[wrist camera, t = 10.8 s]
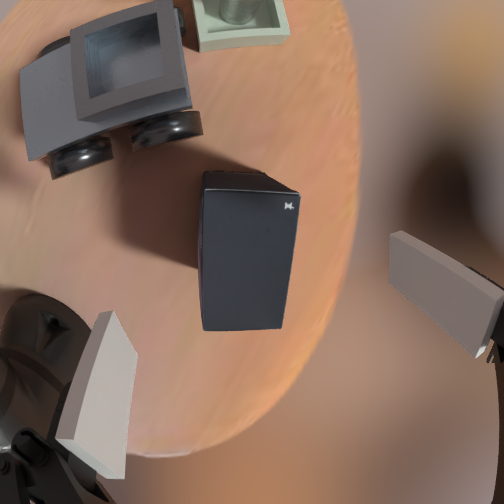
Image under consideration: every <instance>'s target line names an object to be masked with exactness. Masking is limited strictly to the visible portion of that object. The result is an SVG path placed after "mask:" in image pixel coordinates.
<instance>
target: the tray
mask: <svg viewBox="0 0 504 504" xmlns="http://www.w3.org/2000/svg"><path fill="white" fill-rule="evenodd" d="M191 2H192V8H193V15H194V21H195V27H196V34H197V40H198V46H199V52H207V51H213V50H220V49H228V48H237V47H247V46H261V45H281V44H282V43H283V42H284V41H285V40H286V39H287V38H288V37H289V36H290V35H291V34H290V30H289V25H288V21H287V17H286V13H285V9H284V5H283V1H282V0H263V2H262V4H261V6H260V8H259V10H258V12H257V14H256V16H255V18H254V19H253V20H252V21H251V22H250V23H248V24H245V25H232V24H229V23H226V22H225V21H223V20H222V19H221V17H220V15H219V5H220V0H191Z"/></svg>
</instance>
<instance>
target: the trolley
mask: <svg viewBox="0 0 504 504" xmlns="http://www.w3.org/2000/svg"><path fill="white" fill-rule="evenodd" d="M185 33H186V27H185V20H184V13H183V11H182V10H181V9H180V8H178V7H176V6H173V0H157V1H153V2H149V3H145V4H141V5H138V6H134V7H131V8H128V9H124V10H121V11H118V12H115V13H112V14H109V15H107V16H104V17H101V18H98V19H96V20H93V21H91V22H88V23H86V24H84V25H81V26H79V27H77V28H74V29H72V30H70V36H68V37H64V38H61V39H59V40H57V41H54V42H53V43H51V44H49V45H48V46H46V47H45V48H44V49H43V50H42V51H41V52H40V53H39V55H38V58H37V60H36V61H34V62H32V63H31V64H29V65H27V66H26V67H24V68H22V69H21V70H20V96H21V109H22V120H23V128H24V136H25V143H26V149H27V155H28V160H29V161H34V160H39V159H41V158H43V157H45V156H48V155H50V154H52V153H54V152H56V151H58V152H56V153H54V154H52V155H50V156H49V157H48V163H49V168H50V172H51V177H52V180H55V179H58V178H61V177H64V176H67V175H69V174H72V173H75V172H78V171H81V170H83V169H86V168H89V167H92V166H95V165H98V164H101V163H103V162H106V161H109V160H112V159H114V156H113V152H112V147H111V142H110V137H99V138H95V139H91V140H87V141H84V140H86V139H88V138H91V137H94V136H96V135H99V134H102V133H105V132H108V131H111V130H114V129H117V128H120V127H123V126H126V125H129V124H132V123H136V122H139V121H142V122H140V123H137V124H135V125H133V126H131V127H129V135H130V140H131V145H132V150H133V152H136V151H141V150H145V149H149V148H153V147H157V146H161V145H165V144H169V143H173V142H177V141H182V140H186V139H190V138H194V137H198V136H201V135H204V134H203V129H202V123H201V118H200V112H199V111H185V112H178V111H182V110H187V109H191V108H192V102H191V96H190V90H189V84H188V78H187V72H186V66H185V60H184V53H183V47H182V40H181V38H182V37H183V36H184V35H185ZM174 112H178V113H174ZM169 113H172V114H169ZM154 117H155V118H154ZM150 118H152V119H150ZM146 119H148V120H146ZM143 120H145V121H143ZM70 145H71V146H70ZM68 146H69V147H68ZM66 147H67V148H66ZM63 148H64V149H63ZM61 149H62V150H61ZM59 150H60V151H59Z"/></svg>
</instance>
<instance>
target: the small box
mask: <svg viewBox="0 0 504 504" xmlns="http://www.w3.org/2000/svg"><path fill="white" fill-rule="evenodd" d="M300 200H301V195H300V194H299V192H297V191H294V190H291V189H290V188H288V187H286V186H284V185H283V184H281V183H279V182H278V181H276V180H275V179H273V178H271V177H269V176H267V175H266V174H265V173H261V172H259V173H252V172H250V173H249V172H243V173H242V172H233V171H232V172H225V171H205V172H204V175H203V180H202V187H201V195H200V209H199V228H198V280H199V297H200V308H201V317H202V325H203V330H204V331H244V330H266V329H281V328H282V323H283V318H284V312H285V306H286V300H287V294H288V287H289V281H290V275H291V268H292V261H293V253H294V247H295V240H296V232H297V225H298V216H299V208H300Z"/></svg>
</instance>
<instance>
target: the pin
mask: <svg viewBox="0 0 504 504" xmlns="http://www.w3.org/2000/svg"><path fill="white" fill-rule="evenodd" d="M262 2H263V0H220V5H219V15H220V17H221V19H222V20H223V21H225V22H226V23H229V24H232V25H245V24H248V23H250V22H251V21H252V20H253V19H254V18H255V16H256V14H257V12H258V10H259V8H260V6H261V4H262Z"/></svg>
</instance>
